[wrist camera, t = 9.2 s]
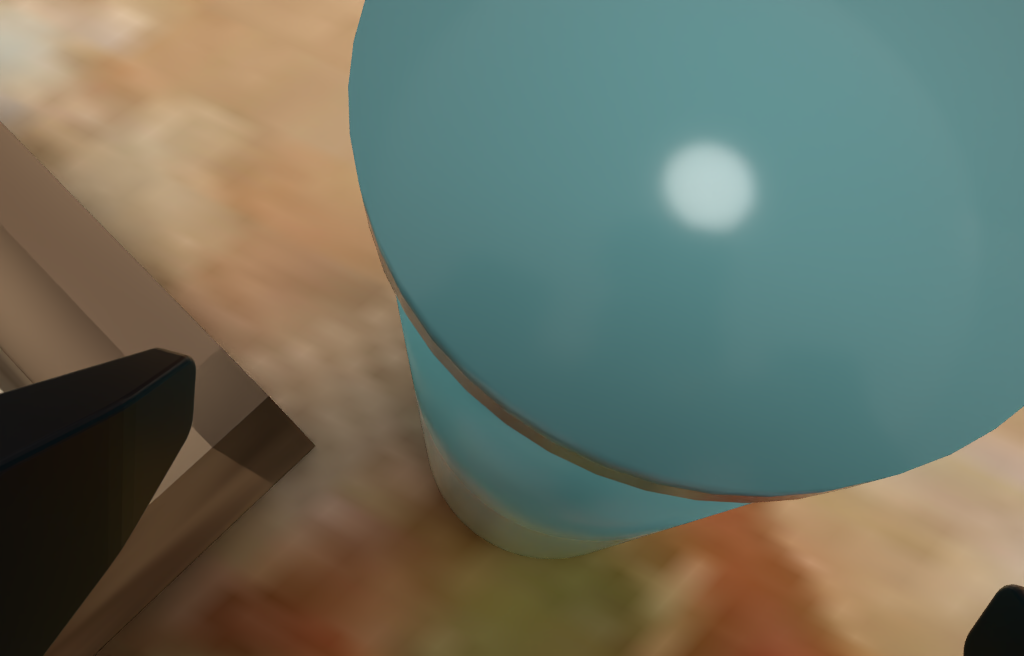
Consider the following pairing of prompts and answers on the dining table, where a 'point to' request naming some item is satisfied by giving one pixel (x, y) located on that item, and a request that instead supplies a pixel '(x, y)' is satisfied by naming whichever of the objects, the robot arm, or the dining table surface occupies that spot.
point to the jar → (692, 247)
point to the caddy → (118, 333)
